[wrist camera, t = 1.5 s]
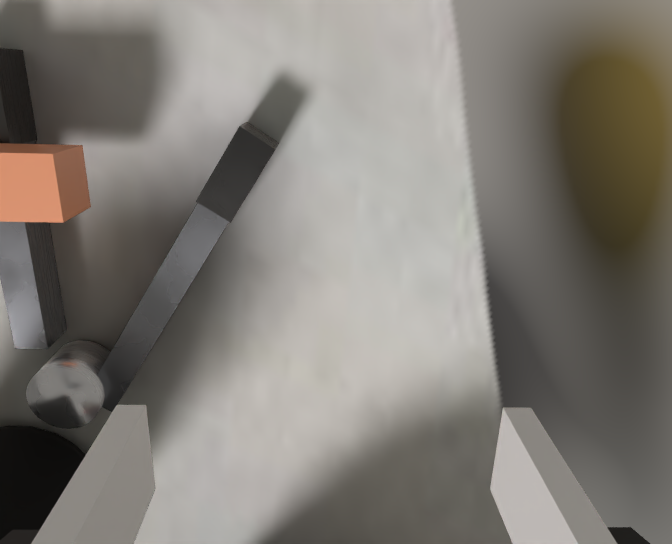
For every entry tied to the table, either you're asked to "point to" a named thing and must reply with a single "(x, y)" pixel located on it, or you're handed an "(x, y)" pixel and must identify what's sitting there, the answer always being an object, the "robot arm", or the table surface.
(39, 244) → the tongs fixed arm
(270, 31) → the table surface
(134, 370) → the grey long bar
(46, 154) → the orange rectangular block
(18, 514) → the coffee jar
